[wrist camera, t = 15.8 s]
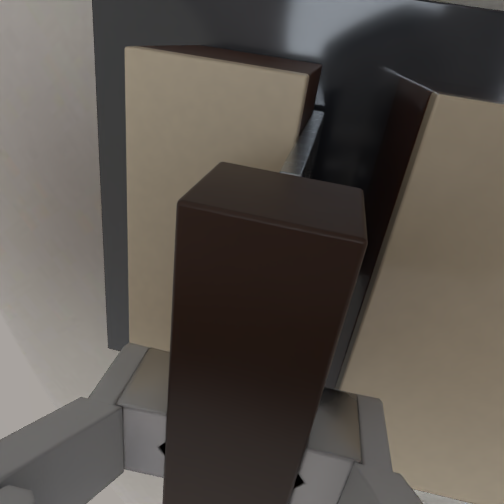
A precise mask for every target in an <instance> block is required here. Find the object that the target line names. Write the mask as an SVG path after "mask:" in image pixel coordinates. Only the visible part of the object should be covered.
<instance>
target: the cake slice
mask: <svg viewBox="0 0 504 504" xmlns="http://www.w3.org/2000/svg"><path fill="white" fill-rule="evenodd" d="M321 69H322V65H321V64H315V63H309V62H303V61H297V60H290V59H284V58H278V57H271V56H265V55H259V54H253V53H246V52H240V51H234V50H228V49H221V48H215V47H209V46H202V45H172V46H127V47H125V106H126V167H127V228H128V289H129V342H130V343H134V344H138V345H142V346H146V347H149V348H151V347H152V348H156V349H160V350H164V351H168V352H170V335H171V314H172V292H173V271H174V250H175V228H176V207H177V202H178V200H179V199H180V198H181V197H182V196H183V195H184V194H185V193H187V192H188V191H189V190H190V189H191V188H192V187H193V186H194V185H195V184H196V183H198V182H199V181H200V180H201V179H202V178H203V177H204V176H205V175H206V174H207V173H209V172H210V171H211V170H212V169H213V168H214V167H215V166H216V165H217V164H218V163H219V162H227V163H233V164H238V165H243V166H248V167H253V168H258V169H263V170H268V171H274V172H279V171H280V170H281V168H282V166H283V164H284V162H285V161H286V159H287V157H288V155H289V153H290V152H291V150H292V148H293V146H294V144H295V143H296V141H297V139H298V137H299V135H300V133H301V132H302V130H303V128H304V126H305V124H306V123H307V121H308V119H309V117H310V115H311V114H312V112H313V110H314V105H315V100H316V95H317V90H318V85H319V79H320V74H321Z"/></svg>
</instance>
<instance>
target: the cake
mask: <svg viewBox="0 0 504 504" xmlns="http://www.w3.org/2000/svg"><path fill="white" fill-rule="evenodd" d="M92 9H93V31H94V53H95V74H96V96H97V118H98V139H99V161H100V183H101V204H102V226H103V248H104V270H105V291H106V313H107V335H108V348H109V349H113V350H118V351H121V349H122V348H123V347H124V346H125V345H126V344H128V343H129V289H128V228H127V167H126V106H125V47H127V46H172V45H202V46H209V47H215V48H221V49H228V50H234V51H240V52H246V53H253V54H259V55H265V56H271V57H278V58H284V59H290V60H297V61H303V62H309V63H315V64H321V65H322V69H321V74H320V79H319V85H318V90H317V95H316V100H315V105H314V110H313V111H320V112H324V113H325V117H324V122H323V127H322V131H321V136H320V141H319V146H318V150H317V155H316V160H315V165H314V169H313V174H312V179H315V180H320V181H325V182H330V183H335V184H340V185H345V186H350V187H356V188H360V189H362V190H363V194H364V206H365V217H366V229H367V241H368V245H367V248H366V251H365V255H364V258H363V261H362V264H361V268H360V271H359V274H358V278H357V281H356V284H355V287H354V291H353V294H352V297H351V301H350V304H349V307H348V310H347V314H346V317H345V320H344V324H343V327H342V330H341V333H340V337H339V340H338V343H337V347H336V350H335V353H334V356H333V360H332V363H331V366H330V370H329V373H328V376H327V379H326V383H325V386H324V387H327V388H332V389H336V390H341V391H346V392H350V393H354V394H360V395H365V396H369V397H374V398H379V399H380V400H381V401H382V403H383V409H384V416H385V422H386V429H387V435H388V442H389V449H390V455H391V462H392V469H393V472H396V473H400V474H401V475H402V476H403V477H404V479H405V480H406V481H407V483H408V484H409V485H410V487H411V488H412V489H415V490H419V491H423V492H427V493H432V494H436V495H440V496H444V497H448V498H452V499H456V500H460V501H464V502H468V503H472V504H504V11H500V10H493V9H486V8H479V7H472V6H465V5H458V4H451V3H444V2H437V1H430V0H92Z"/></svg>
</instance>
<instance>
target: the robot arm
mask: <svg viewBox="0 0 504 504" xmlns="http://www.w3.org/2000/svg"><path fill="white" fill-rule="evenodd" d="M169 357H170V352H168V351H164V350H160V349H156V348H152V347H151V348H149V347H146V346H142V345H138V344H134V343H130V342H129V343H128V344H126V345H125V346H124V347H123V348H122V349H121V351H120V352H119V354H118V355H117V357H116V358H115V360H114V361H113V363H112V364H111V365H110V367H109V368H108V370H107V371H106V373H105V374H104V376H103V377H102V379H101V380H100V382H99V383H98V384H97V386H96V387H95V389H94V390H93V392H92V393H91V395H90V396H89V398H88V399H87V398H83V397H80V398H78V399H76V400H74V401H73V402H71V403H69V404H67V405H65V406H63V407H61V408H59V409H57V410H56V411H54V412H52V413H50V414H48V415H46V416H44V417H42V418H40V419H38V420H37V421H35V422H33V423H31V424H29V425H27V426H25V427H23V428H22V429H20V430H18V431H16V432H14V433H12V434H10V435H8V436H7V437H4V438H2V439H1V440H0V504H86V503H88V502H89V501H90V500H91V499H92V498H93V497H95V496H96V495H97V494H98V493H99V492H101V491H102V490H103V489H104V488H105V487H107V486H108V485H109V484H110V483H111V482H112V481H114V480H115V479H116V478H117V477H118V476H120V475H121V474H122V473H123V472H124V469H126V470H130V471H135V472H139V473H144V474H148V475H153V476H157V477H162V478H164V465H165V443H166V423H167V400H168V378H169ZM289 504H423V503H422V501H421V500H420V499H419V497H418V496H417V495H416V493H415V492H414V491H413V489H412V488H411V487H410V485H409V484H408V483H407V481H406V480H405V479H404V477H403V476H402V475H401V474H400V473H396V472H393V469H392V462H391V455H390V449H389V442H388V435H387V429H386V422H385V416H384V409H383V403H382V401H381V400H380V399H379V398H374V397H369V396H365V395H360V394H354V393H350V392H346V391H341V390H336V389H332V388H327V387H324V389H323V393H322V396H321V399H320V402H319V406H318V409H317V412H316V416H315V419H314V422H313V425H312V429H311V432H310V435H309V439H308V442H307V445H306V448H305V452H304V455H303V458H302V462H301V465H300V468H299V471H298V475H297V478H296V481H295V485H294V488H293V491H292V494H291V498H290V501H289Z"/></svg>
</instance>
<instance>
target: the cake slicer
mask: <svg viewBox="0 0 504 504" xmlns="http://www.w3.org/2000/svg"><path fill="white" fill-rule="evenodd" d="M324 117H325V113H324V112H320V111H313V112H312V114H311V115H310V117H309V119H308V121H307V123H306V124H305V126H304V128H303V130H302V132H301V133H300V135H299V137H298V139H297V141H296V143H295V144H294V146H293V148H292V150H291V152H290V153H289V155H288V157H287V159H286V161H285V162H284V164H283V166H282V168H281V170H280V171H279V172H274V171H268V170H263V169H258V168H253V167H248V166H243V165H238V164H233V163H227V162H219V163H218V164H217V165H216V166H215V167H214V168H213V169H212V170H211V171H210V172H209V173H207V174H206V175H205V176H204V177H203V178H202V179H201V180H200V181H199V182H198V183H196V184H195V185H194V186H193V187H192V188H191V189H190V190H189V191H188V192H187V193H185V194H184V195H183V196H182V197H181V198H180V199H179V200H178V202H177V207H176V228H175V250H174V271H173V292H172V314H171V335H170V357H169V378H168V400H167V423H166V443H165V465H164V485H163V504H289V501H290V498H291V494H292V491H293V488H294V485H295V481H296V478H297V475H298V471H299V468H300V465H301V462H302V458H303V455H304V452H305V448H306V445H307V442H308V439H309V435H310V432H311V429H312V425H313V422H314V419H315V416H316V412H317V409H318V406H319V402H320V399H321V396H322V393H323V389H324V386H325V383H326V379H327V376H328V373H329V370H330V366H331V363H332V360H333V356H334V353H335V350H336V347H337V343H338V340H339V337H340V333H341V330H342V327H343V324H344V320H345V317H346V314H347V310H348V307H349V304H350V301H351V297H352V294H353V291H354V287H355V284H356V281H357V278H358V274H359V271H360V268H361V264H362V261H363V258H364V255H365V251H366V248H367V245H368V241H367V229H366V217H365V206H364V194H363V190H362V189H360V188H356V187H350V186H345V185H340V184H335V183H330V182H325V181H320V180H315V179H312V174H313V169H314V165H315V160H316V155H317V150H318V146H319V141H320V136H321V131H322V127H323V122H324Z"/></svg>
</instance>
